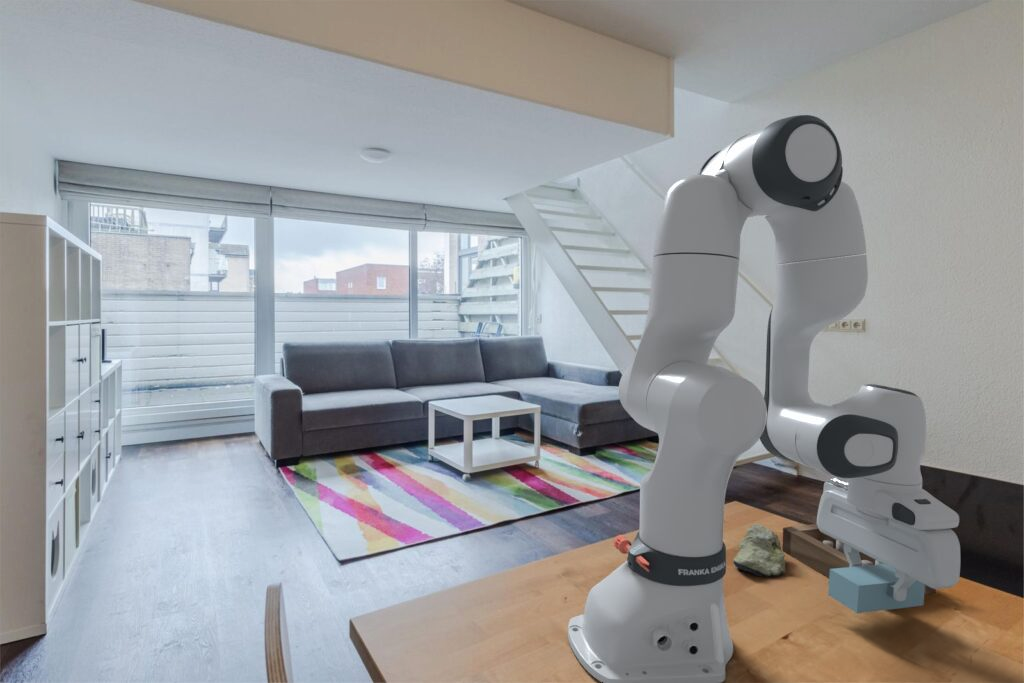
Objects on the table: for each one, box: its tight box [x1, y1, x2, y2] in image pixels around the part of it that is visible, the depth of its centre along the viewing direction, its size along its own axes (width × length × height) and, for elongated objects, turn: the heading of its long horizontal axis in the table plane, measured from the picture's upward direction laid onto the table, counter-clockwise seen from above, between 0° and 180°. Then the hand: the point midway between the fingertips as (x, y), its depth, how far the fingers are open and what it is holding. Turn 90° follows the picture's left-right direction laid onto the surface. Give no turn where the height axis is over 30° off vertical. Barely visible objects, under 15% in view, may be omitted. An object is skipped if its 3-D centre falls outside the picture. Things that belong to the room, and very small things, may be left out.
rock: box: [733, 523, 786, 578], centre depth 97 cm, size 11×6×10 cm
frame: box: [781, 523, 937, 596], centre depth 94 cm, size 13×19×4 cm
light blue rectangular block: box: [827, 564, 925, 614], centre depth 79 cm, size 12×5×4 cm, turn 104°
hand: (876, 587), depth 79 cm, fingers closed on light blue rectangular block, 5 cm apart
